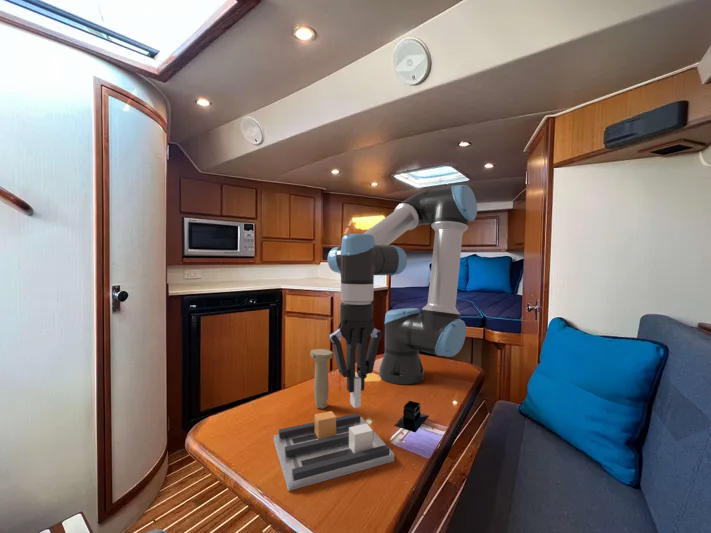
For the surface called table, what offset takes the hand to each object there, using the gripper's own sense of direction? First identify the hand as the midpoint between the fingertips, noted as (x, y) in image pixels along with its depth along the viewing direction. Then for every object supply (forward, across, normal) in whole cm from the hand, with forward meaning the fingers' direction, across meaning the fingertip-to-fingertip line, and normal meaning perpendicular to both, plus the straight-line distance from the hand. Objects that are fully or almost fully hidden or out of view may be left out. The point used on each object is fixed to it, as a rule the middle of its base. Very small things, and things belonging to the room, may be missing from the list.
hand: (355, 404), depth 73 cm
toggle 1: (+5, +7, 0) cm, 9 cm away
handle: (+7, +3, -16) cm, 18 cm away
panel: (+7, +7, +4) cm, 11 cm away
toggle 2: (+5, +2, +8) cm, 10 cm away
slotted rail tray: (+6, +7, +4) cm, 10 cm away
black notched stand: (+7, -16, 0) cm, 17 cm away
